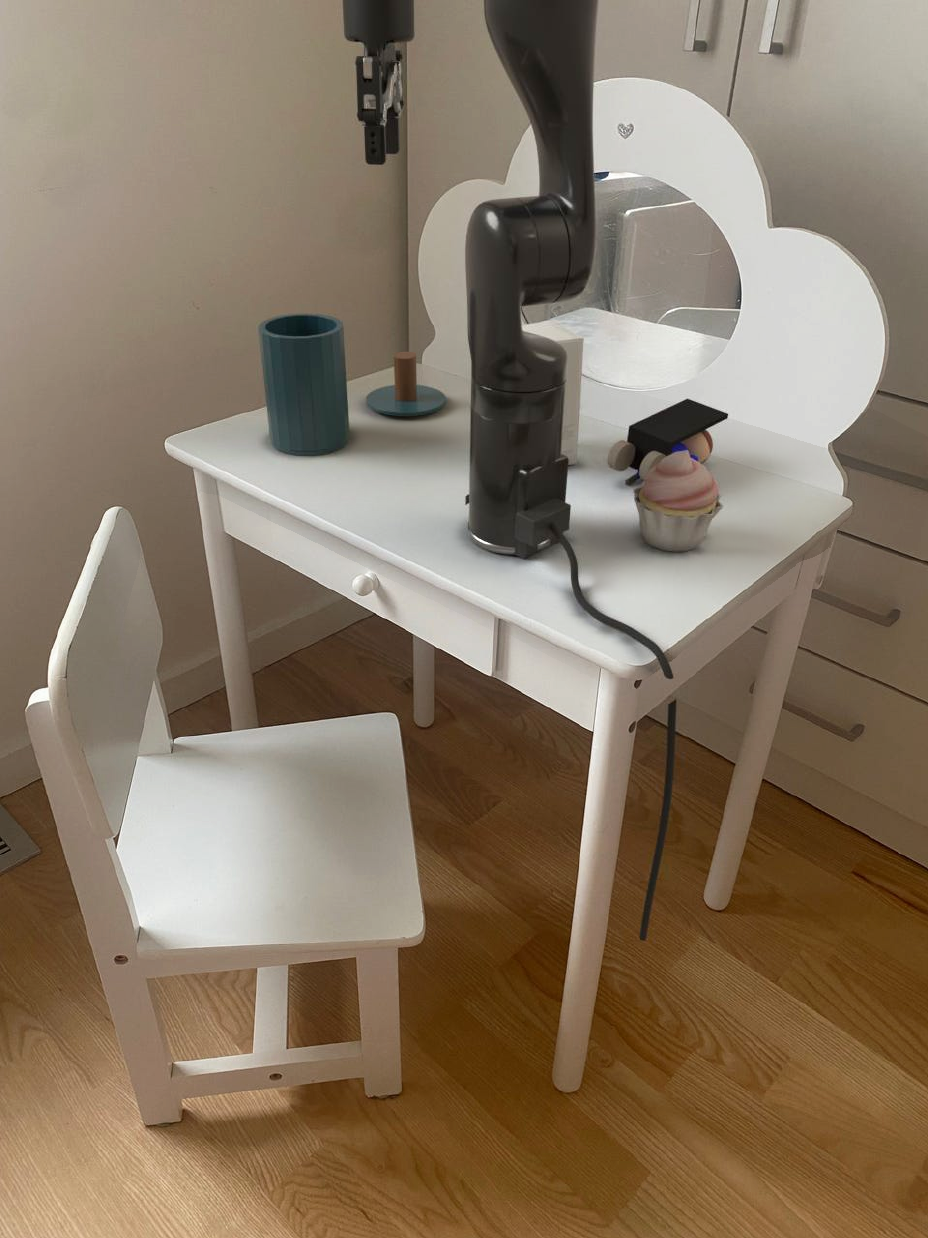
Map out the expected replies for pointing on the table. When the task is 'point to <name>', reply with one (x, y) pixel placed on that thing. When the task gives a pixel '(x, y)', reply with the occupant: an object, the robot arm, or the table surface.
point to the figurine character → (666, 438)
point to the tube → (305, 383)
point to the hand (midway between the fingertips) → (383, 158)
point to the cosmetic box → (573, 382)
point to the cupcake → (677, 503)
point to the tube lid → (405, 392)
